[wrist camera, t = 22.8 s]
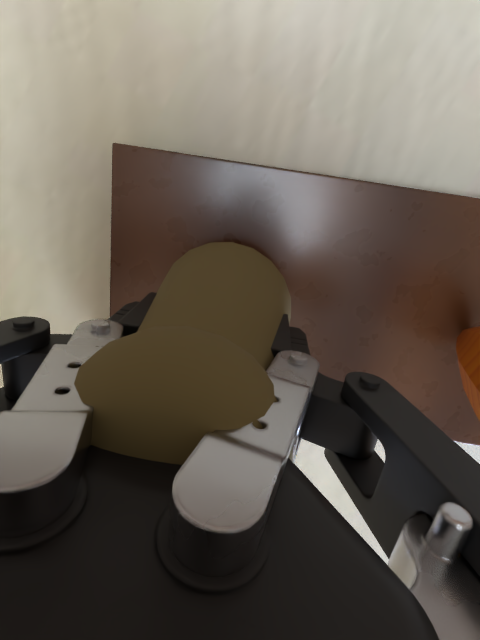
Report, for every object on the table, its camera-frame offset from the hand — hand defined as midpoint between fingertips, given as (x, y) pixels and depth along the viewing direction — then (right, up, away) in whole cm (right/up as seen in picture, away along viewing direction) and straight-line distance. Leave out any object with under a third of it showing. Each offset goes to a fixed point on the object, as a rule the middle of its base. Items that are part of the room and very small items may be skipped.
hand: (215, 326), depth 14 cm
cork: (0, +1, +2) cm, 2 cm away
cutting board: (+6, +1, +6) cm, 9 cm away
